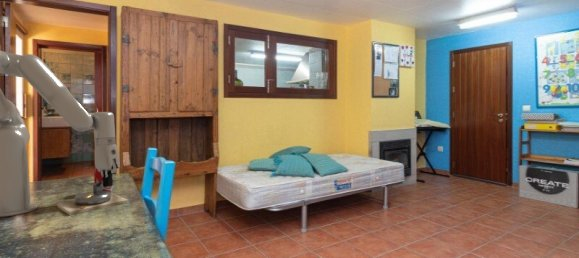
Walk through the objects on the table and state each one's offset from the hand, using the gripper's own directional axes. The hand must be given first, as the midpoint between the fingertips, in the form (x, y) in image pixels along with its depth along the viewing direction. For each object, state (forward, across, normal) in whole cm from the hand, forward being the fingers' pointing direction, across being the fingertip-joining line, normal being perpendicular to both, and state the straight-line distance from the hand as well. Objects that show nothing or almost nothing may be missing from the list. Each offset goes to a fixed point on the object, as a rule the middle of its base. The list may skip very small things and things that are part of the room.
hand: (108, 185), depth 136 cm
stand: (+5, -2, +8) cm, 10 cm away
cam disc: (+4, -1, +7) cm, 8 cm away
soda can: (+6, +12, -6) cm, 15 cm away
